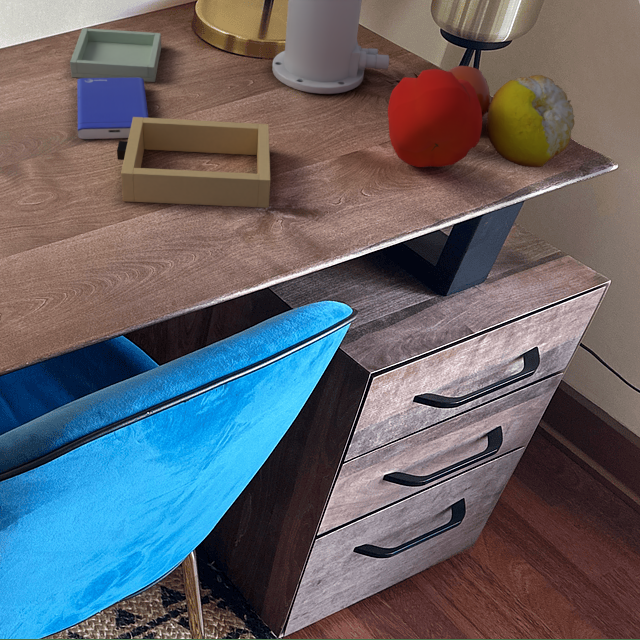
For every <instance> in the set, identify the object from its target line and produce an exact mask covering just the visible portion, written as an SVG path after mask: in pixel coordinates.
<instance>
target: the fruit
mask: <svg viewBox="0 0 640 640" xmlns="http://www.w3.org/2000/svg"><path fill="white" fill-rule="evenodd" d="M571 102H572V100H571V99H570V100H568V95H567V93H566V91H565V90H564V89H563V88H562V87H560V86H559V84H556V83H555V81H554V80H553V79H552V78H550V77H547V76H544V75H543V74H534V75H530V76H523V77H522V76H520V77H517V78H515V79H510V80H509V81H507V82H505V83H504V84H503V85H502V86H501V87H499V88H498V89H497V90H496V92H495V93H494V94H493V96H492V98H491V100H490V105H489V110H488V113H486V123H485V131H486V136H487V138H488V140H489V142H490V143H491V146H492V147H493V149H494V150H495V152H496V153H497V154H498V155H499V156H500V157H501V158H503V159H504V160H506V161H508V162H509V163H512V164H515V165H517V166H521V167H524V168H542V167H544V165H546V163H547V162H549V161H550V160H552V159H553V158H554V157H555V156H558V155H559V154H560V153H562V152H563V151H565V150H566V149H567V147H568V146H569V144H570V141H571V137H572V130H573V128H574V127H575V124H576V121H575V116H576V115H574V107H573V106H572V104H571Z"/></svg>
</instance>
